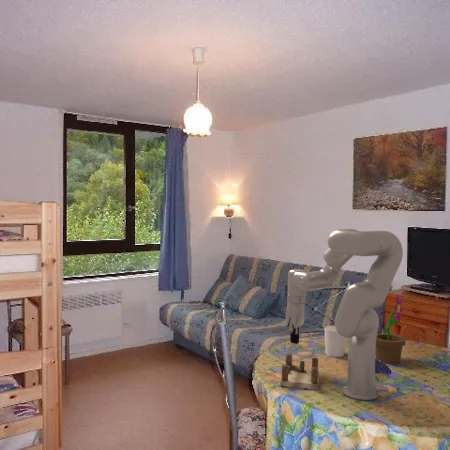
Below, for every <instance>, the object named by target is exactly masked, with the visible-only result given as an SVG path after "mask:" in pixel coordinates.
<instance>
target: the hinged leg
mask: <svg viewBox="0 0 450 450" xmlns="http://www.w3.org/2000/svg"><path fill="white" fill-rule="evenodd" d="M305 362H306V361H305V360H300V361H299V365H295V364H293V354H292V353H288V352H287V353H285V365H288V366H290V369H292V370H296V371H300V372H304V370H305V364H306V363H305Z"/></svg>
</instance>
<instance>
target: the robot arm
mask: <svg viewBox="0 0 450 450" xmlns="http://www.w3.org/2000/svg"><path fill="white" fill-rule="evenodd" d="M402 245H403V244H402V243H401V241H400V239H399V237H397V235H395V234H394V233H392V232H390V231H387V230H373V231H372V230H370V231H368V230H367V231H365V230H364V231H363V230H362V231H361V230H358V229H353V228H342V229H336V230H334V231H332V232H331V233H330V234H329V237H328V238H327V246H328V247H327V249H326V250H325V251H324V252H323V260H324V261H325V263H326V264H325V265H324V266H323V267H322V268H321V269H319V270H315V271H314V270H313V271H305V269H299V268H295V269H294V268H293V269H290V270H288V275H287V296H286V297H287V298H286V299H287V300H286V303H287V305H286V310H285V319H284V321H285V322H284V326H285V328H287V327H288V332H289V333H290V340H289V341H290V344H293V345H294V344H295V345H298V344H299V343H300V332H301V328H302V325H304V324H305V314H306V313H305V305H306V297H307V292H312V291H320V290H324V289H326V288H328V287H330V286H331V285H332V284H333V283H334V282H335V281H336V280H337V279H338V277H339V276H340V274H341V273H342V272H341V271H342V267H343V266H344V265H345V264H346V263H347V262H348V261H349V260H350V259H352V257H354V256H355V257H374V256H375V257H376V256H377V258H376V259H375V260H374V262H373V263H372V264H371V265H370V267H369V271H368V272H367V275H366V277H365V279H364V280H363V281H361V282H355V283H352V284H351V285H349V286H348V287H347V289H346V290H345V291H344V294H343V296H342V298H341V301H340V303H339V306H338V308H337V311H336V314H335V318H334V326H335V328H336V330H337V332H338V333H339V334H340V335H341V336H343V337H345V338H349V339H348V345H347V372H346V373H347V377H346V378H347V379H346V383H347V384H346V385H344V386H343V387H342V393H343V394H344V395H345V396H347V397H348V398H352V399H355V400H358V401H359V400H361V401H372V400H375V399H377V398H379V396H380V395H379V392H383V393H389V386H384V384H381V383H380V384H379V383H377V382H376V380H375V378H376V377H375V372H376V354H375V352H376V337H377V334H378V330H379V325H380V318H379V315H378V313H377V312H376V310H374V309H375V308H376V309H377V308H380V307H381V306H383V305H384V303H385V300H386V299H387V296H388V294H389V291H390V289H391V286H392V283H393V282H394V279H395V276H396V275H397V272H398V270H399V269H400V266H401V263H402V260H403V255H404V251H403V246H402Z"/></svg>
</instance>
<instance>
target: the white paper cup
mask: <svg viewBox="0 0 450 450" xmlns="http://www.w3.org/2000/svg"><path fill="white" fill-rule="evenodd" d="M345 346H346V337H343V336H341V335H340V334H339V333H338V332H337V330H336V328H335V325H328V326H324V350H325V351H324V353H325V355H326V356H328V357H331V358H341V357H344V355H345Z"/></svg>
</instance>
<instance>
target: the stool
mask: <svg viewBox="0 0 450 450" xmlns="http://www.w3.org/2000/svg"><path fill="white" fill-rule="evenodd" d="M319 374H320V371H319V358H317V357H312V358H311V370H307V369H306V370H305V369H304V372H300V371H296V370H292V369H290V366H288V365H286V364H281V377H280V380H279V381H280V382H279V383H280V385H279V386H280V387H282V386H287V387H286V388H293V387H296V388H295V389H304V388H307V389H306V390H317V391H318V390H319V385H320V384H319V382H320V380H319V378H320V377H319Z"/></svg>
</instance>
